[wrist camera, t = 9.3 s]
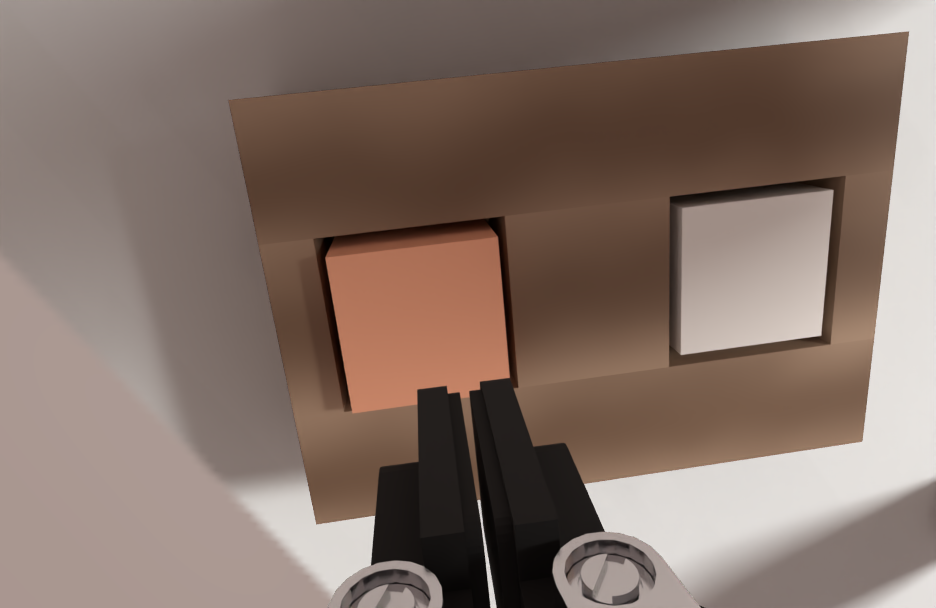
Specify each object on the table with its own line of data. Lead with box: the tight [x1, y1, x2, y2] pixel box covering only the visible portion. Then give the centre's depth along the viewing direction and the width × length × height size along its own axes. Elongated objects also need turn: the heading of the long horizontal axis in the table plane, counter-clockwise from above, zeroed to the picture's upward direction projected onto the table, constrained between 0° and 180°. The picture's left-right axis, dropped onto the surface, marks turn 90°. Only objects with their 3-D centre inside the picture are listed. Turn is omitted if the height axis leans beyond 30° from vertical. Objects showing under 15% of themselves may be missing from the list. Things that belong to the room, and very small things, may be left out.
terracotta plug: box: [325, 219, 510, 414], centre depth 21 cm, size 5×5×4 cm
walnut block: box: [228, 32, 909, 524], centre depth 23 cm, size 14×20×6 cm
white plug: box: [669, 182, 834, 355], centre depth 22 cm, size 5×5×4 cm
